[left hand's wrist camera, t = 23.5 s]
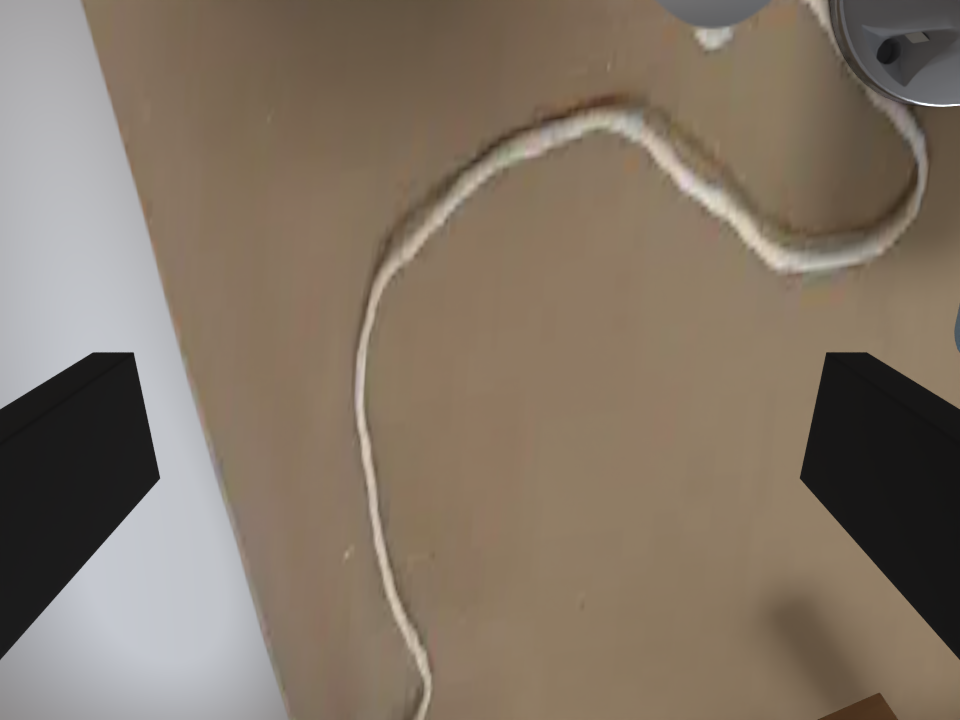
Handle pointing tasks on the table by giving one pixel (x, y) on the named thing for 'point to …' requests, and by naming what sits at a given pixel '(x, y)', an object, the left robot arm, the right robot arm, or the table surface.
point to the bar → (865, 710)
